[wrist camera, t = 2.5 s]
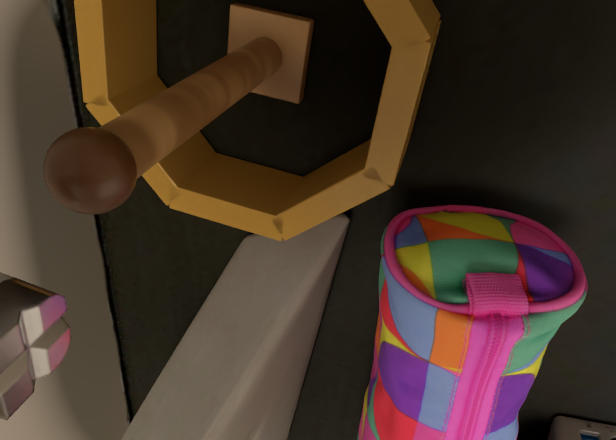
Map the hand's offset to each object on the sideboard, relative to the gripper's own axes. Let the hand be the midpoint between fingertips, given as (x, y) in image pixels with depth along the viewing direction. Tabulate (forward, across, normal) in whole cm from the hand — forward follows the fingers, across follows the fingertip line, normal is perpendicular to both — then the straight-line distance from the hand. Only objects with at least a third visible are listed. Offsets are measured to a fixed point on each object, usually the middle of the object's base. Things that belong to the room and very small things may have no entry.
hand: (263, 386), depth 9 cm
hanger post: (+19, +7, 0) cm, 20 cm away
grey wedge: (+19, +6, +18) cm, 27 cm away
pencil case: (+19, -6, +15) cm, 25 cm away
